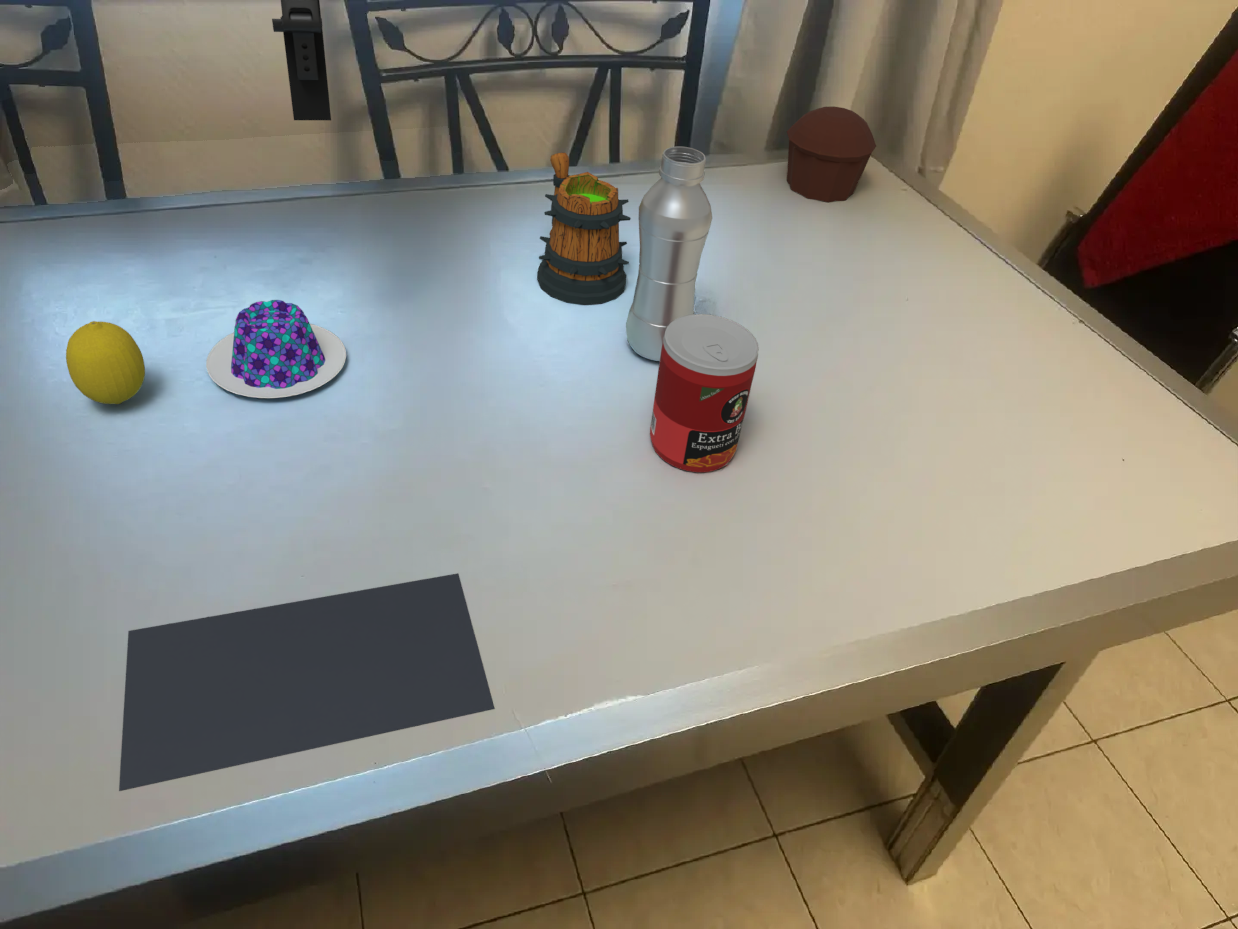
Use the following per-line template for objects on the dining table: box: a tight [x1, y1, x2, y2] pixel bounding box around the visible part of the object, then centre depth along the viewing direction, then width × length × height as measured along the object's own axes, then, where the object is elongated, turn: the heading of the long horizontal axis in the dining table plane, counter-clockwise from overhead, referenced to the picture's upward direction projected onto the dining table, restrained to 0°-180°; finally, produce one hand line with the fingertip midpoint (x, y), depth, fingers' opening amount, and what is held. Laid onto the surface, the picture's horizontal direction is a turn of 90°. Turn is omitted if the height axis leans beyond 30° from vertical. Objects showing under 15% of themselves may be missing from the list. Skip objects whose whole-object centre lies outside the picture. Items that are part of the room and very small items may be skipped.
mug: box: [536, 152, 632, 306], centre depth 100 cm, size 13×10×12 cm
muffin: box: [786, 105, 877, 203], centre depth 123 cm, size 12×11×10 cm
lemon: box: [65, 320, 146, 405], centre depth 78 cm, size 6×6×8 cm
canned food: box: [649, 313, 760, 473], centre depth 80 cm, size 8×8×11 cm
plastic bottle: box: [625, 146, 713, 362], centre depth 87 cm, size 6×7×20 cm
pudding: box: [205, 299, 347, 399], centre depth 85 cm, size 12×12×5 cm
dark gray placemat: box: [118, 573, 496, 792], centre depth 62 cm, size 22×12×1 cm, turn 108°
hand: (310, 85), depth 77 cm, fingers open, 13 cm apart
